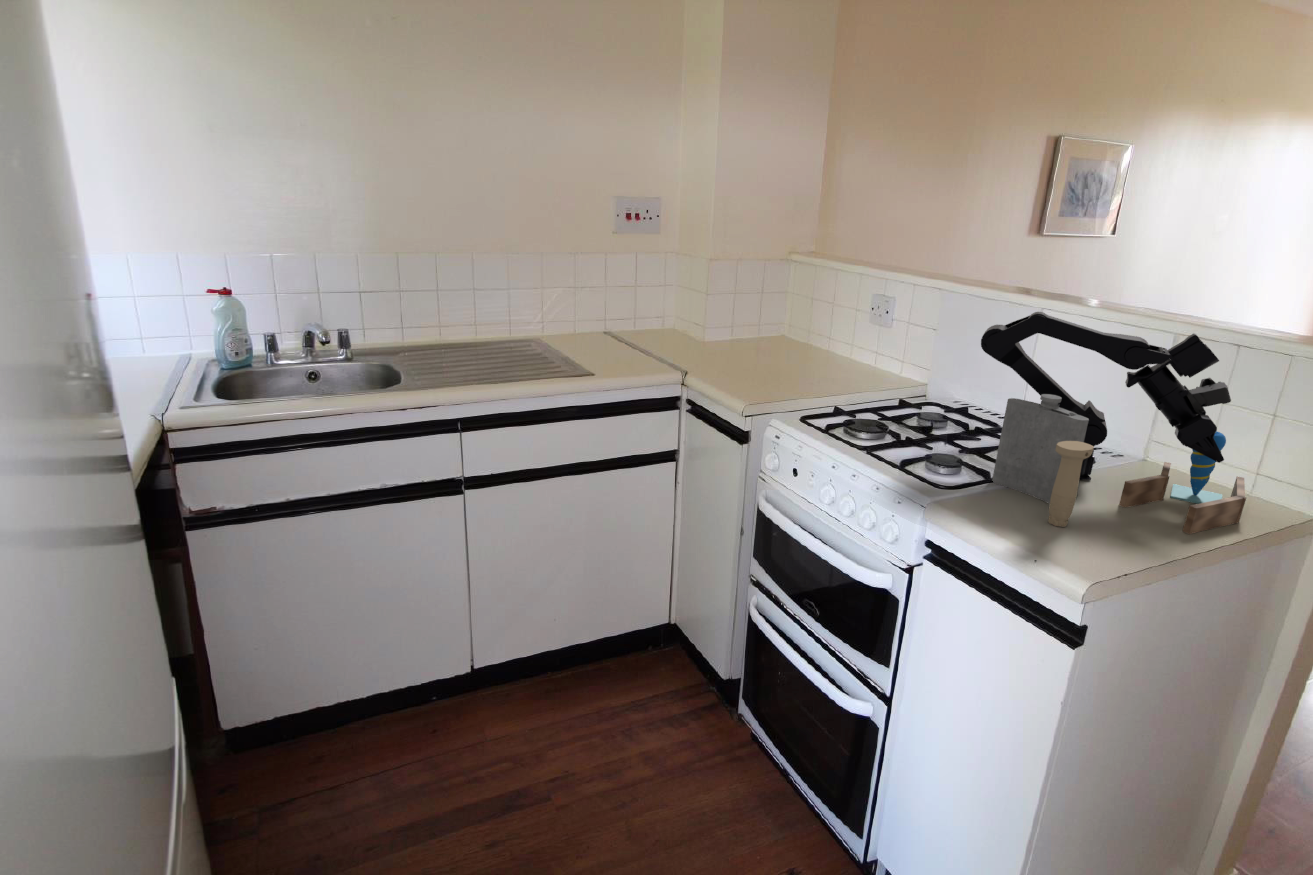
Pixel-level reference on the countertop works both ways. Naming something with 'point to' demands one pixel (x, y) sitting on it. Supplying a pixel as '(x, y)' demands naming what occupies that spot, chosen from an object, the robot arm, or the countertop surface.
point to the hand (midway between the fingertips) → (1217, 454)
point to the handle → (1067, 480)
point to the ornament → (1203, 465)
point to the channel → (1198, 514)
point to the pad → (1187, 495)
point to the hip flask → (1035, 444)
